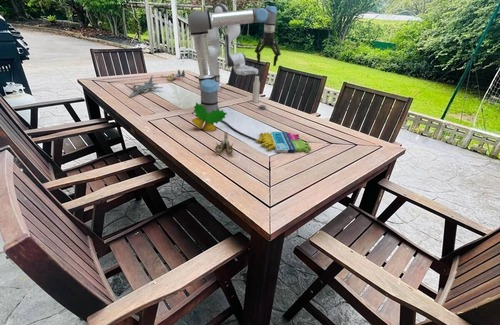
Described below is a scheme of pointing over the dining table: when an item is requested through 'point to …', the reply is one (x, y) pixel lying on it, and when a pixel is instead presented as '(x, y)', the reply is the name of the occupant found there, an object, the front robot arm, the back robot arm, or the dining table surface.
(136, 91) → the airplane
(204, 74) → the front robot arm
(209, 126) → the ornament
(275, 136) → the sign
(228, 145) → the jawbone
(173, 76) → the toy
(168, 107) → the dining table surface
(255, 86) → the bottle
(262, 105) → the cap
